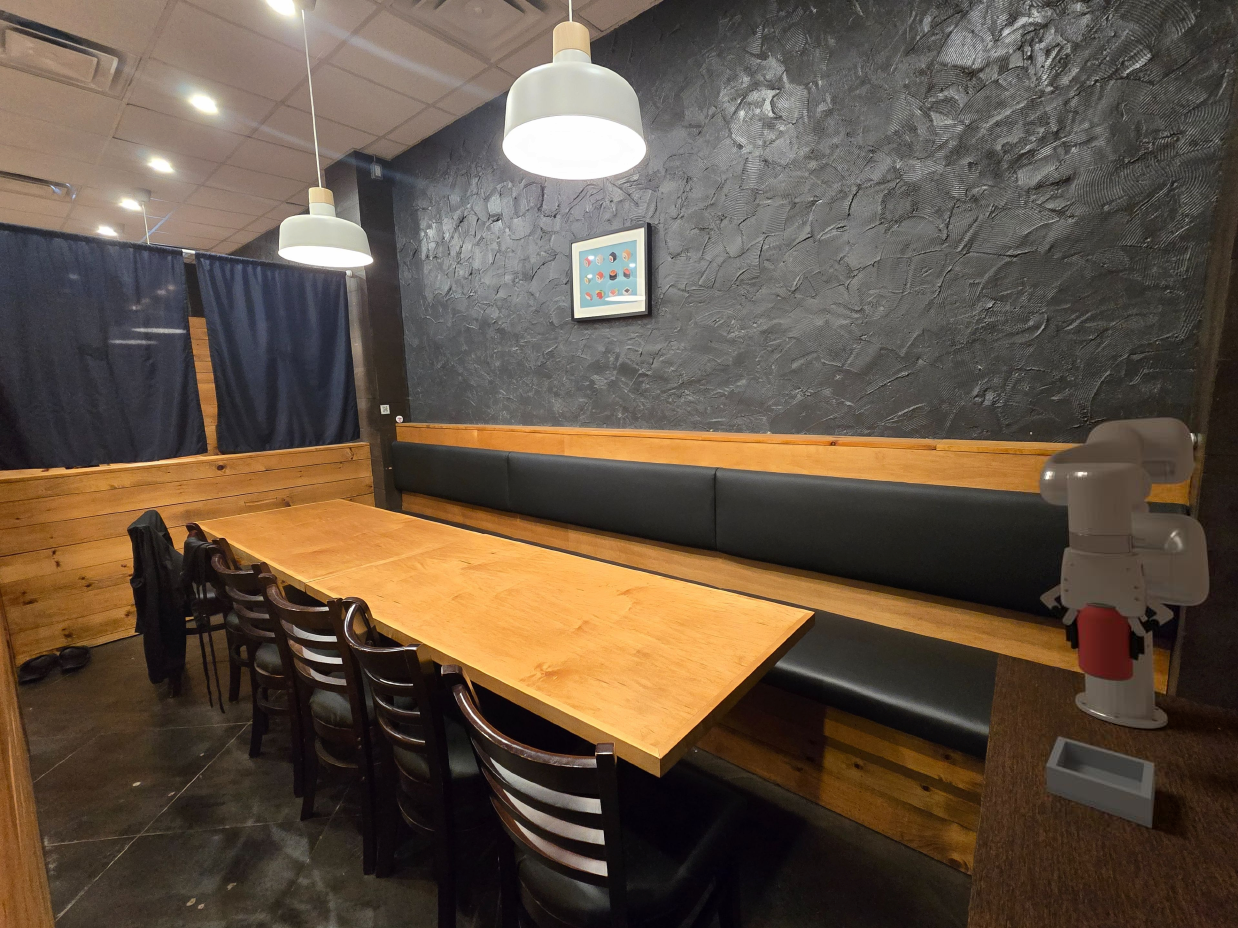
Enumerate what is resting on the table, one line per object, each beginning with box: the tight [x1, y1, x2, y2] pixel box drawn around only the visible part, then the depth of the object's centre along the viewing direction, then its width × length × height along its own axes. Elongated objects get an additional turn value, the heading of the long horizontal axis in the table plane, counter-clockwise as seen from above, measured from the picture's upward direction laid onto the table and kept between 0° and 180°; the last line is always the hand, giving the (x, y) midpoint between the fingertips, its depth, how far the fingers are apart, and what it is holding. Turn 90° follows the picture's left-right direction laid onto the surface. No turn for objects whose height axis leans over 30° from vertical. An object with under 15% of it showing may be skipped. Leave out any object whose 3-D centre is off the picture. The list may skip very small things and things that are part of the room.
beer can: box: [1075, 603, 1133, 681], centre depth 85 cm, size 7×7×12 cm
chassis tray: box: [1045, 735, 1156, 829], centre depth 78 cm, size 11×11×4 cm
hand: (1104, 650), depth 85 cm, fingers closed on beer can, 6 cm apart
